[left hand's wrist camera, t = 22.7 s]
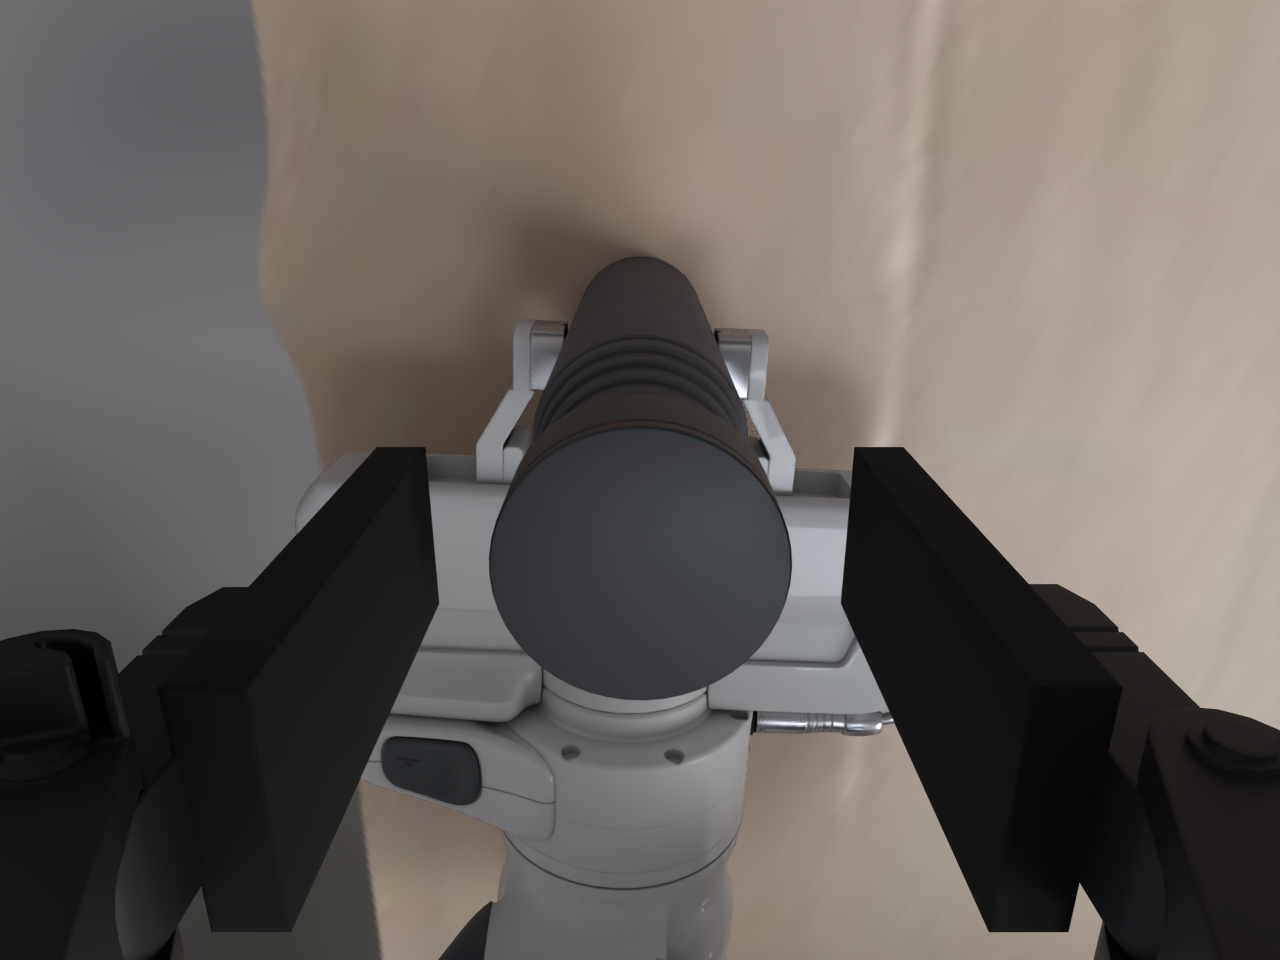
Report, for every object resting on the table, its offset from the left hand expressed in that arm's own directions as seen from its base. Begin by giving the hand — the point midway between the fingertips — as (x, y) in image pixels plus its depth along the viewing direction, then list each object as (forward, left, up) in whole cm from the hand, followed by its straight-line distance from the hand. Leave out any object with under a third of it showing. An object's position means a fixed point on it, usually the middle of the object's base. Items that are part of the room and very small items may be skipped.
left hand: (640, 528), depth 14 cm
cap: (0, 0, +1) cm, 1 cm away
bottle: (0, 0, -19) cm, 19 cm away
